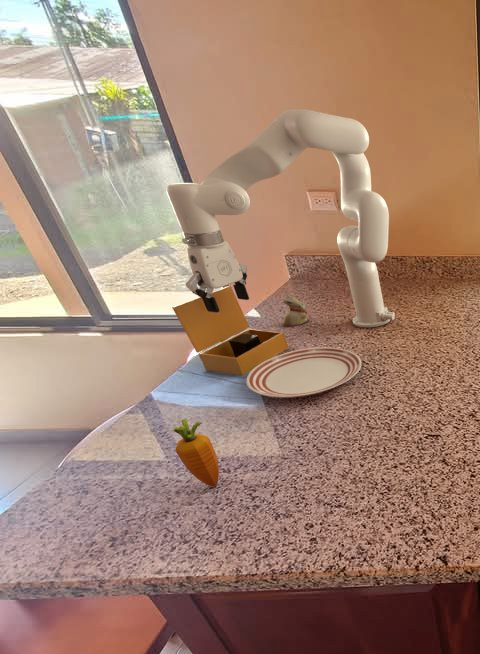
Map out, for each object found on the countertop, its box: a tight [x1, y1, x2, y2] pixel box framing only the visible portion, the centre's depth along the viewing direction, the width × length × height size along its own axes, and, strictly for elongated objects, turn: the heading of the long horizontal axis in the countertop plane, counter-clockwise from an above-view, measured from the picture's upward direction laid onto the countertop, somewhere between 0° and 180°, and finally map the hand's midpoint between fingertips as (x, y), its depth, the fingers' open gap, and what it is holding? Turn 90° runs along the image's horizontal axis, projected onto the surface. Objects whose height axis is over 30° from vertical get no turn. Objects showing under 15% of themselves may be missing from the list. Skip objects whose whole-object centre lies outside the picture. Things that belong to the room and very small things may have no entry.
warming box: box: [198, 327, 289, 377], centre depth 120 cm, size 12×17×6 cm
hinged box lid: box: [172, 285, 250, 353], centre depth 117 cm, size 13×17×6 cm
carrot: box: [172, 418, 220, 488], centre depth 76 cm, size 5×5×15 cm
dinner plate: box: [245, 346, 362, 399], centre depth 113 cm, size 28×27×3 cm
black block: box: [229, 334, 261, 358], centre depth 120 cm, size 5×5×6 cm
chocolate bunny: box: [282, 294, 308, 327], centre depth 143 cm, size 6×8×10 cm
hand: (229, 305), depth 113 cm, fingers open, 9 cm apart
